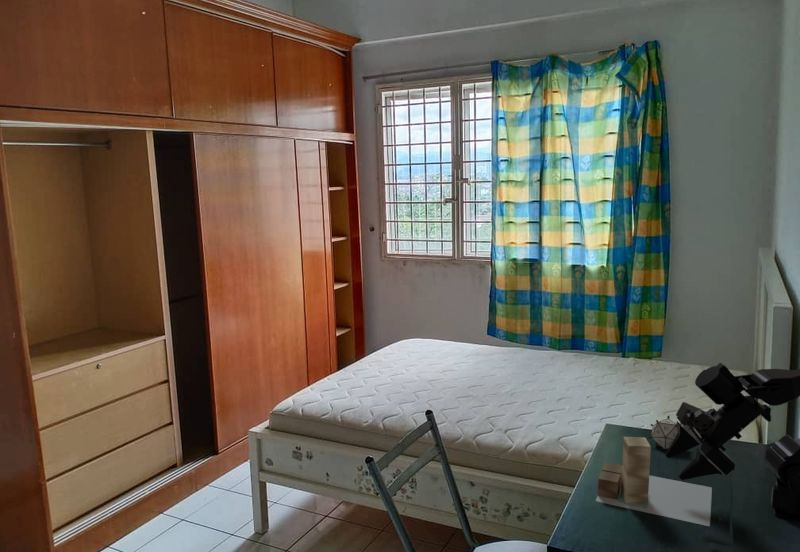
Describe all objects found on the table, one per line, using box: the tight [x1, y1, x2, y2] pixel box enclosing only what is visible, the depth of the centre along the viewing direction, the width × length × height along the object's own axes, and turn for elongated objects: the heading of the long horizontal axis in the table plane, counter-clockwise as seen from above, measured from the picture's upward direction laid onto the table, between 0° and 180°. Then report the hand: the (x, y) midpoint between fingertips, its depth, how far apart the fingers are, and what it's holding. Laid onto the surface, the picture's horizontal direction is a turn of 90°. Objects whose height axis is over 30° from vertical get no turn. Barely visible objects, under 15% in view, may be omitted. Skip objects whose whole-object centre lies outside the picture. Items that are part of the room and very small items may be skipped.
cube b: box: [601, 461, 622, 489], centre depth 140 cm, size 4×4×4 cm
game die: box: [647, 415, 678, 450], centre depth 159 cm, size 9×8×10 cm
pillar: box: [621, 436, 652, 504], centre depth 133 cm, size 4×4×13 cm
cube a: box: [597, 470, 621, 500], centre depth 136 cm, size 4×4×4 cm
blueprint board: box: [595, 474, 713, 527], centre depth 136 cm, size 22×17×1 cm
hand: (673, 467), depth 131 cm, fingers open, 9 cm apart
